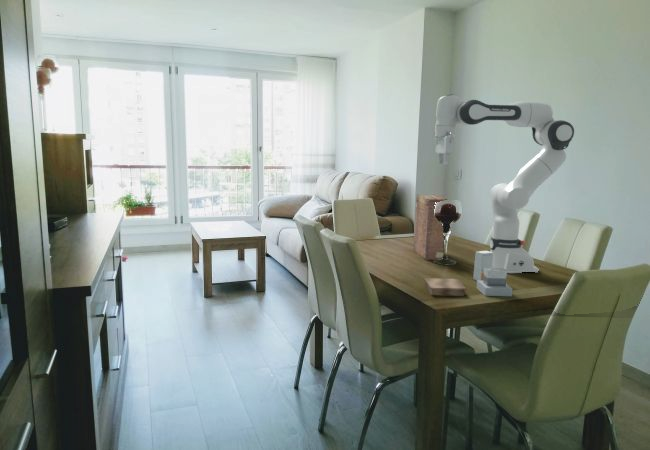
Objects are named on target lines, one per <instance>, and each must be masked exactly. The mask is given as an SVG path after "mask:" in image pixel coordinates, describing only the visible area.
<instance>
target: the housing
mask: <svg viewBox="0 0 650 450" xmlns="http://www.w3.org/2000/svg"><path fill="white" fill-rule="evenodd" d="M507 276H508V273H507V270H505V269H504V268H488V267H484V280H483V283H484V284H486V285H487V286H506V284H507V278H508V277H507Z"/></svg>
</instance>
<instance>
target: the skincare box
mask: <svg viewBox="0 0 650 450" xmlns="http://www.w3.org/2000/svg"><path fill="white" fill-rule="evenodd" d="M474 255H475V256H474V265H473V266H474V268H473V277H472V278H473V280H474V281H477V280H479V281H483V280H484V267H488V268H492V262H493V252H490V251H489V250H480V251H478V250H477V251H475V254H474Z"/></svg>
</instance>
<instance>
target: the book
mask: <svg viewBox="0 0 650 450" xmlns="http://www.w3.org/2000/svg"><path fill="white" fill-rule="evenodd" d="M444 200H448V199H447V198H445V197H442V196H440V195H436V194H432V195H428V194H427V195H421V194H416V200H415V201H416V202H415V216H414V217H415V219H414V220H415V221H414V235H413V236H414V237H413V250H414V251H415V252H416V253H417V254H418V255H420V257H422V258H423V259H424V260H426V261H427V260H428V261H439V260H438V259H442V258H443V257H444V258H445V249H444V240H445V241H446V235H445V236H444V235H443V227H442V224H441V223H440V222H439V221H437V220H436V219H437V218H435V216H434V209H435V206H434V205H436V204H435V202H436V203H437V202H440V201H444Z"/></svg>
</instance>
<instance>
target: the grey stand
mask: <svg viewBox="0 0 650 450" xmlns="http://www.w3.org/2000/svg"><path fill="white" fill-rule="evenodd" d="M476 289H477V290H479V292H480V293H482V295H484V296H487V297H488V296H489V297H513V287H511V286H510V285H509V284H507V283H506V286H487V285H486V284H484V283H483V281H479V280H476Z"/></svg>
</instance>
